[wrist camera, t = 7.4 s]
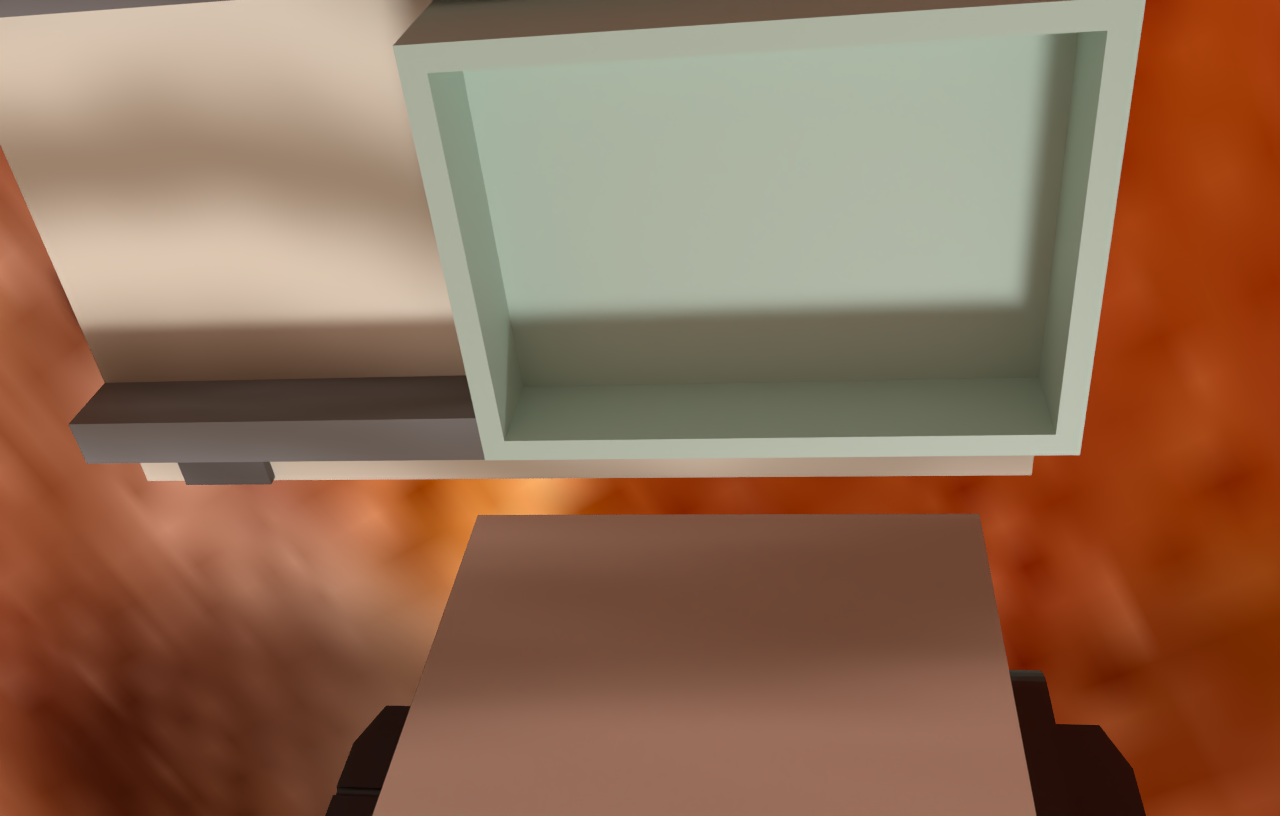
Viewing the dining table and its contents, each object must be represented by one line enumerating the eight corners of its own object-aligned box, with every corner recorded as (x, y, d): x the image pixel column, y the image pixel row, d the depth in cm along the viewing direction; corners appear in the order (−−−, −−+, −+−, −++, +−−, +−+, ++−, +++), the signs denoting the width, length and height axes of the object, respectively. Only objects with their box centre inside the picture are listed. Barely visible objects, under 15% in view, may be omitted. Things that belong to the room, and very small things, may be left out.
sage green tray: (447, -17, 22) (392, 46, 19) (1096, -65, 21) (1146, -5, 18) (520, 364, 27) (485, 460, 24) (1047, 353, 26) (1079, 455, 23)
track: (-105, -179, 23) (-204, -153, 21) (1108, -306, 20) (1148, -292, 17) (164, 458, 32) (115, 524, 30) (1025, 449, 29) (1044, 524, 26)
